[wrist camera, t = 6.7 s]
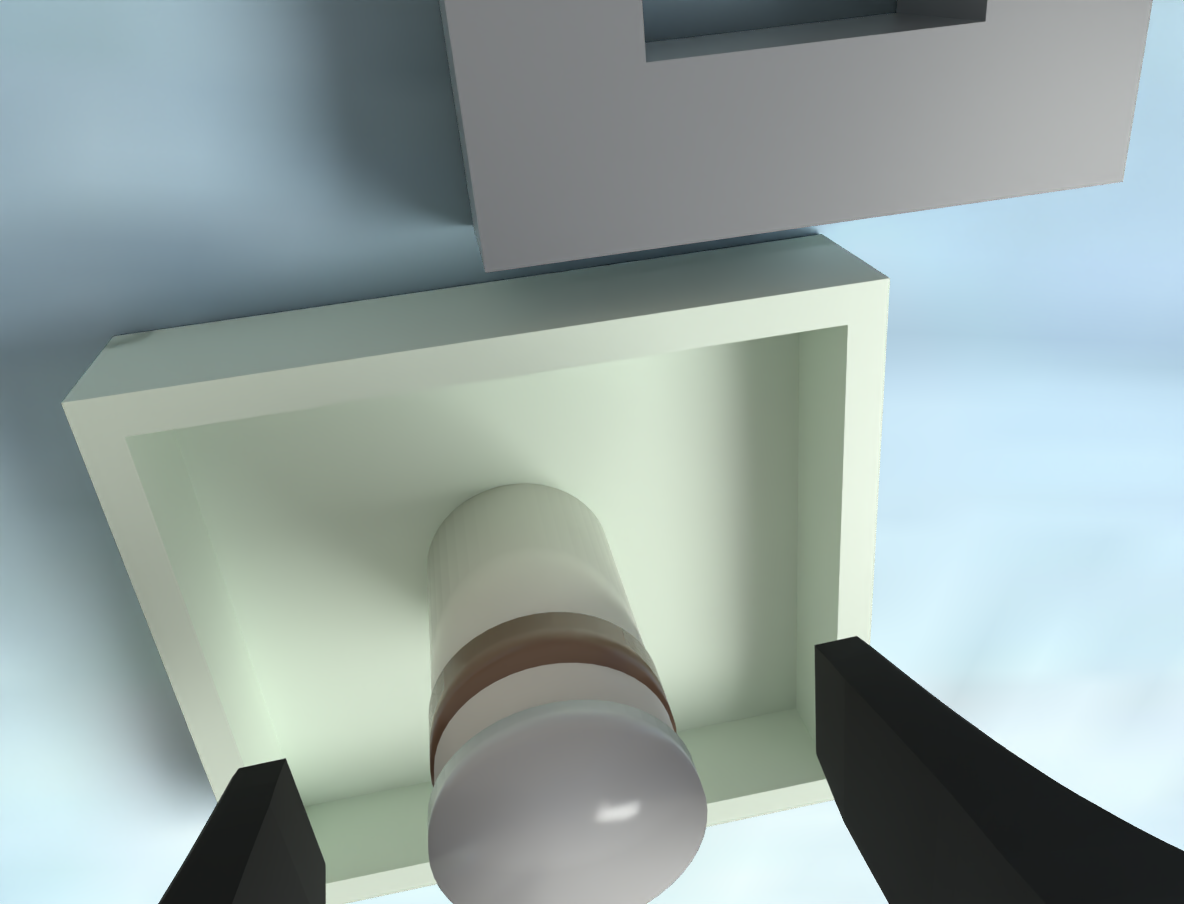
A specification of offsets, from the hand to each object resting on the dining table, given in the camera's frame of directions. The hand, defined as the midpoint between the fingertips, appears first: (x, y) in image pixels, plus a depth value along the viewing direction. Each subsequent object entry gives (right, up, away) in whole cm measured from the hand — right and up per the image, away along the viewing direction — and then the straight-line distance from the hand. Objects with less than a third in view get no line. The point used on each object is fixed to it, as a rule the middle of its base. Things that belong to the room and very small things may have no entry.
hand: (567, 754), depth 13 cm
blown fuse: (-1, +2, +4) cm, 5 cm away
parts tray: (-1, +2, +4) cm, 5 cm away
